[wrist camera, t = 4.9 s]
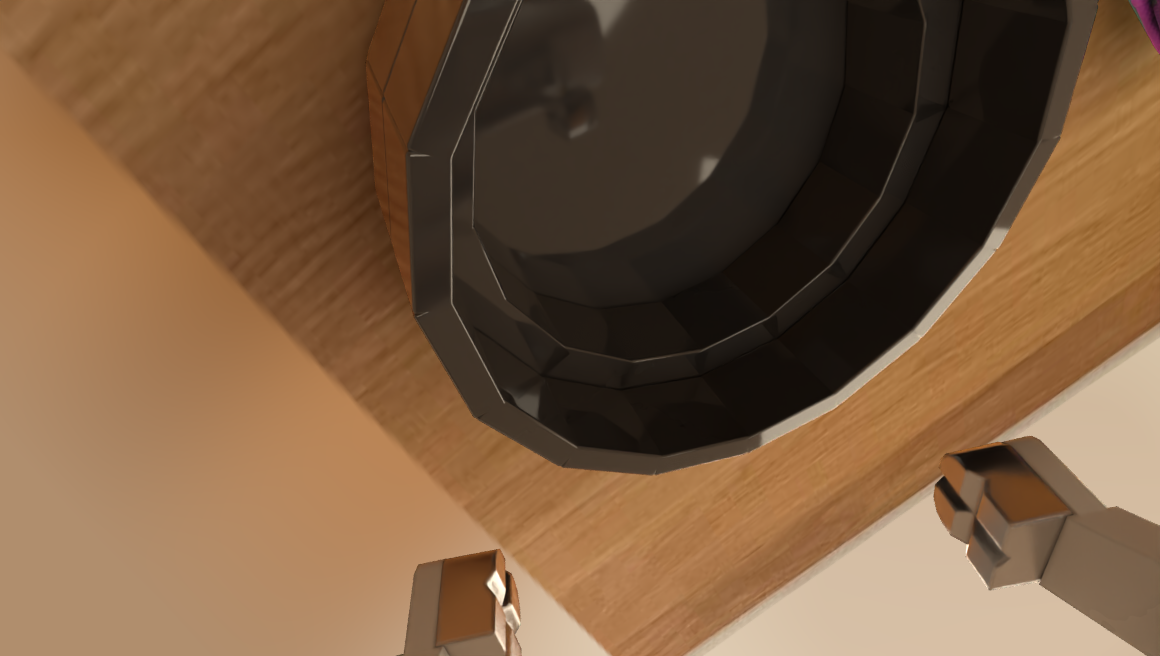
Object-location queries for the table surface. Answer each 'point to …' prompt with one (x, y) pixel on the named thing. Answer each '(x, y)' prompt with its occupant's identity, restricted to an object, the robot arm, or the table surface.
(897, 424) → the table surface
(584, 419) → the bowl
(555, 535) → the table surface
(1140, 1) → the pencil case
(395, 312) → the table surface
